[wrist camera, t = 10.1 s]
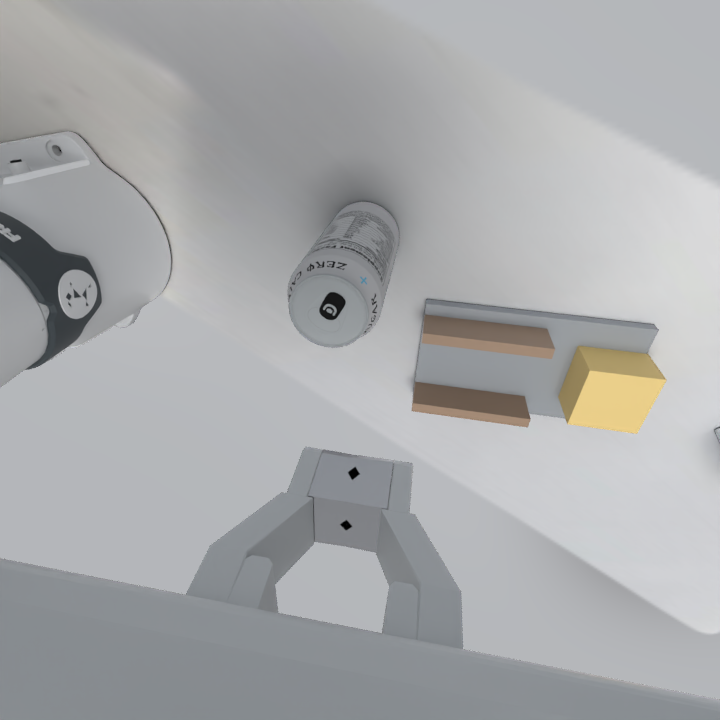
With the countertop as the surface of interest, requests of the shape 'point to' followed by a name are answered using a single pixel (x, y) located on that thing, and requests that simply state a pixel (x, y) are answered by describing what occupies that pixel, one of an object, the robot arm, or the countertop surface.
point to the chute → (507, 359)
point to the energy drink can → (345, 276)
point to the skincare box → (718, 433)
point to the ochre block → (610, 389)
